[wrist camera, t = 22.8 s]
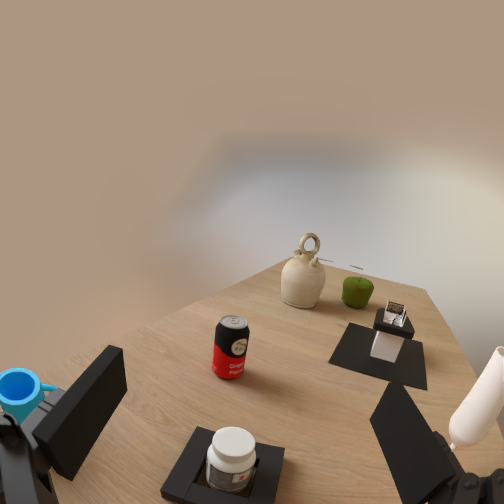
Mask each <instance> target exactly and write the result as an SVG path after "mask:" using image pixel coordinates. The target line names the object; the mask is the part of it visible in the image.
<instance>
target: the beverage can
mask: <svg viewBox="0 0 504 504" xmlns="http://www.w3.org/2000/svg"><path fill="white" fill-rule="evenodd" d="M247 325H248V322H247V320H246V319H244V318H242V317H239V316H235V315H226V316H223V317H221V319H220V322H219V323H218V325H217V326H216V332H215V341H214V351H213V361H212V369H213V371H214V373H215V374H217V375H218V376H219V377H221V378H224V379H233V378H236V377H238V376H240V375H241V374H242V373H243V369H244V363H245V358H246V352H247V346H248V340H249V334H250V331H249V328H248V326H247Z"/></svg>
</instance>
